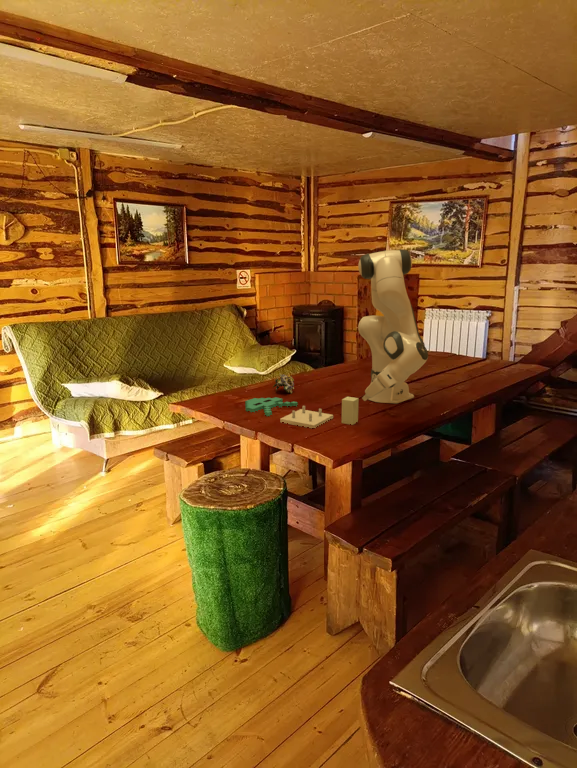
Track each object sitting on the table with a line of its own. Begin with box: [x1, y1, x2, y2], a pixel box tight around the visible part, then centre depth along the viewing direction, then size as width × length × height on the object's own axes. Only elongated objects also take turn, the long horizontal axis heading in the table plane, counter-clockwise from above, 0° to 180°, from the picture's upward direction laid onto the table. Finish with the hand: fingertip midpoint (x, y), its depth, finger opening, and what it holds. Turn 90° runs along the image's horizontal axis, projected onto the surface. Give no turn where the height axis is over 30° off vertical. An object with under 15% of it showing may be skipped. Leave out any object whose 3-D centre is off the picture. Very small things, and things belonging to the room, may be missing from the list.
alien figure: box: [244, 396, 299, 417], centre depth 248 cm, size 20×2×20 cm
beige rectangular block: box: [341, 396, 360, 426], centre depth 225 cm, size 5×5×10 cm
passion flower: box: [272, 372, 295, 394], centre depth 272 cm, size 11×11×12 cm
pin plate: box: [279, 405, 334, 429], centre depth 229 cm, size 16×16×4 cm
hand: (368, 396), depth 219 cm, fingers open, 8 cm apart
